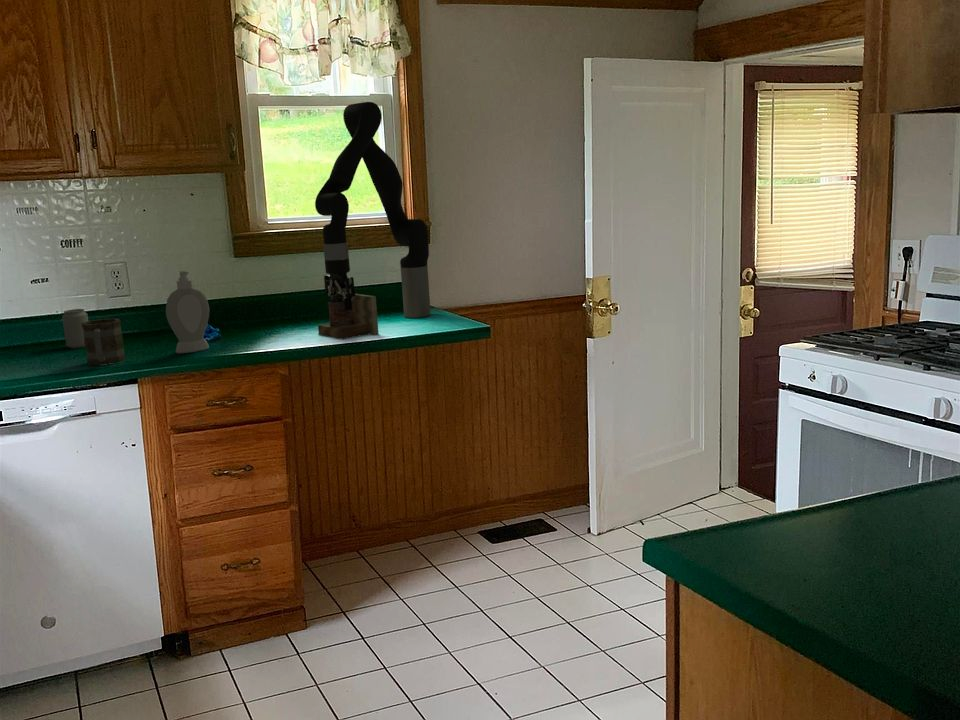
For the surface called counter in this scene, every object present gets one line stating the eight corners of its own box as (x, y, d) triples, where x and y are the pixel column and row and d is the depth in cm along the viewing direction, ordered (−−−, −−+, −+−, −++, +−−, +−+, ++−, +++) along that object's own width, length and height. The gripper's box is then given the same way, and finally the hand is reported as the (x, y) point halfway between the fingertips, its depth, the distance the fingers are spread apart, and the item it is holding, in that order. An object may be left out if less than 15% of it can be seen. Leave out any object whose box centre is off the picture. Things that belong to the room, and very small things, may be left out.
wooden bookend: (314, 333, 300) (310, 296, 297) (345, 327, 307) (341, 291, 304) (346, 340, 285) (343, 301, 282) (378, 334, 292) (375, 296, 289)
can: (67, 350, 295) (62, 312, 292) (65, 346, 301) (60, 310, 299) (93, 346, 298) (87, 309, 296) (90, 343, 305) (85, 307, 302)
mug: (90, 360, 276) (84, 320, 274) (128, 356, 278) (123, 317, 276) (80, 371, 261) (74, 329, 258) (121, 367, 263) (115, 325, 261)
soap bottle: (175, 356, 274) (165, 274, 269) (168, 352, 281) (158, 272, 276) (219, 349, 281) (209, 269, 276) (211, 346, 288) (201, 267, 282)
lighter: (330, 327, 292) (327, 295, 290) (328, 325, 295) (326, 294, 293) (356, 324, 294) (353, 292, 292) (354, 322, 297) (351, 291, 295)
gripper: (314, 258, 293) (319, 308, 297) (338, 260, 282) (343, 312, 286) (335, 255, 298) (339, 305, 301) (359, 257, 287) (363, 309, 290)
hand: (341, 309), depth 294 cm, fingers open, 8 cm apart
